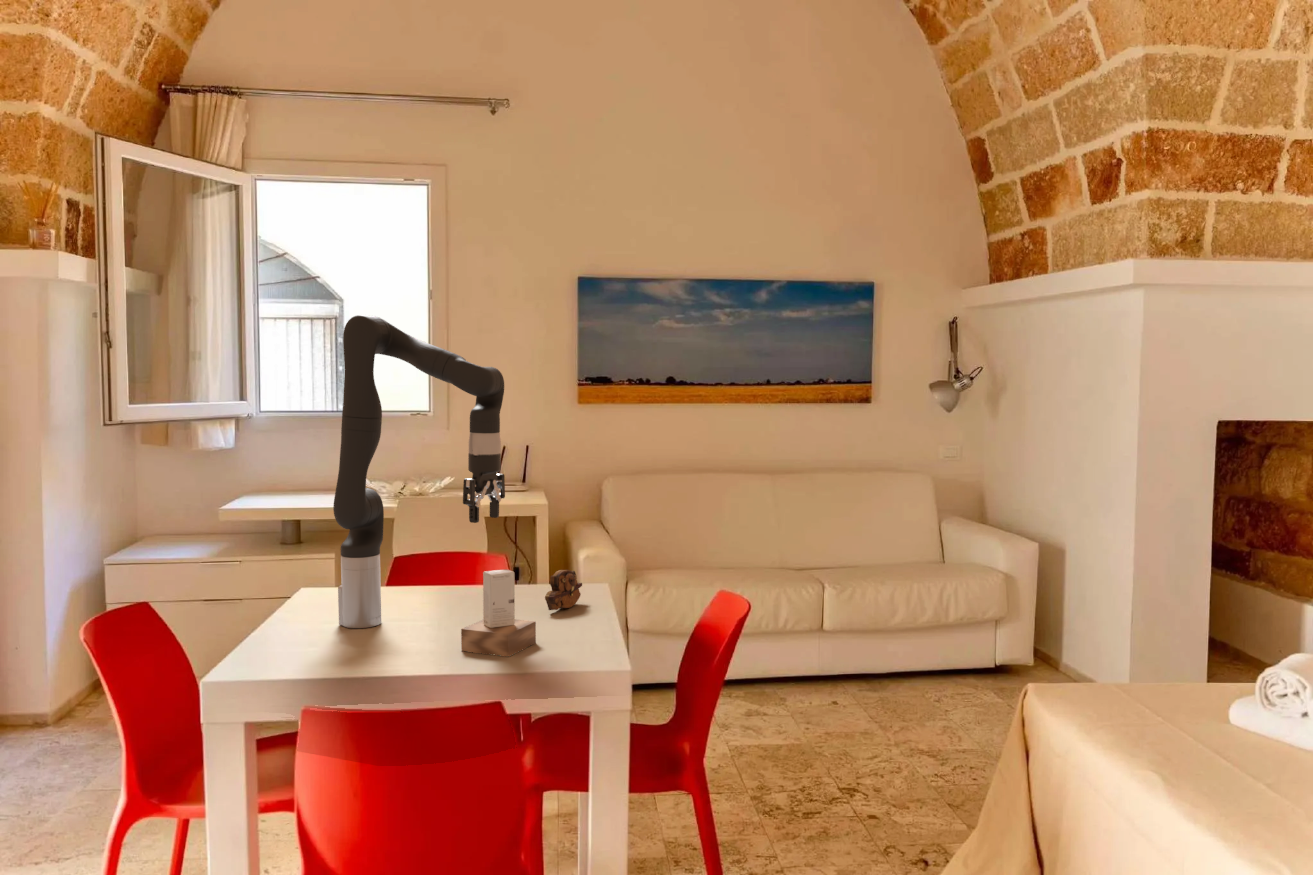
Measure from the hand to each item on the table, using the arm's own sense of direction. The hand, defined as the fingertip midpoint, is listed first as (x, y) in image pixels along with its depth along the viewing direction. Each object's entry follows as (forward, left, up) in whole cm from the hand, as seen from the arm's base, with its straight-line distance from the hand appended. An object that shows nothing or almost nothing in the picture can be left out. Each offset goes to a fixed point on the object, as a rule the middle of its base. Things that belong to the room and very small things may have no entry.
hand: (484, 519), depth 237 cm
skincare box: (+10, -10, -22) cm, 26 cm away
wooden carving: (+7, +28, -27) cm, 40 cm away
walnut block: (+10, -10, -27) cm, 30 cm away
